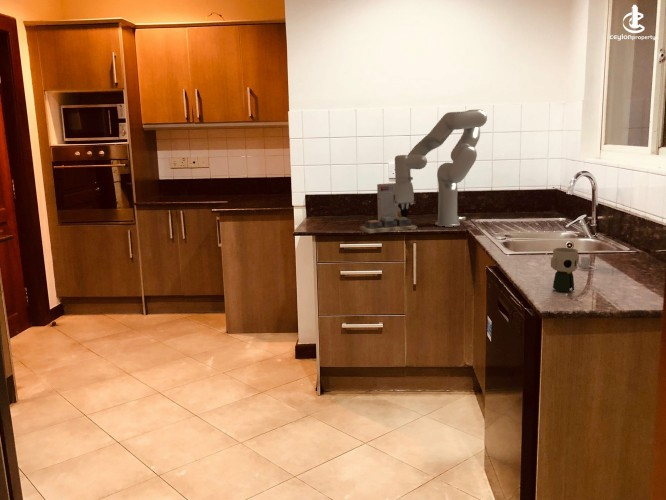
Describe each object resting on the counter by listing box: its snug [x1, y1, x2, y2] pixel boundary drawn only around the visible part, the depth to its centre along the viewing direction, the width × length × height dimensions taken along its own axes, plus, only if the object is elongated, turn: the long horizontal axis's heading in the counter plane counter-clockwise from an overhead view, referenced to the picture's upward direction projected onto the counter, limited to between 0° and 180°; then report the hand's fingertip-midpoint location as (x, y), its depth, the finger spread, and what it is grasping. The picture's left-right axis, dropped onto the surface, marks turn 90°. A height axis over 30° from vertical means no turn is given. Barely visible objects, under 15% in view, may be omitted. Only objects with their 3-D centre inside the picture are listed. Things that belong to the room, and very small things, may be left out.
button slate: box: [382, 217, 394, 221], centre depth 312 cm, size 4×4×3 cm
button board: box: [359, 217, 418, 234], centre depth 312 cm, size 26×12×4 cm, turn 110°
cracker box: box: [376, 182, 407, 221], centre depth 330 cm, size 14×6×21 cm, turn 105°
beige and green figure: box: [550, 247, 580, 293], centre depth 193 cm, size 11×7×13 cm, turn 114°
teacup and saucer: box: [576, 256, 598, 271], centre depth 223 cm, size 9×8×4 cm
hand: (404, 216), depth 314 cm, fingers closed
